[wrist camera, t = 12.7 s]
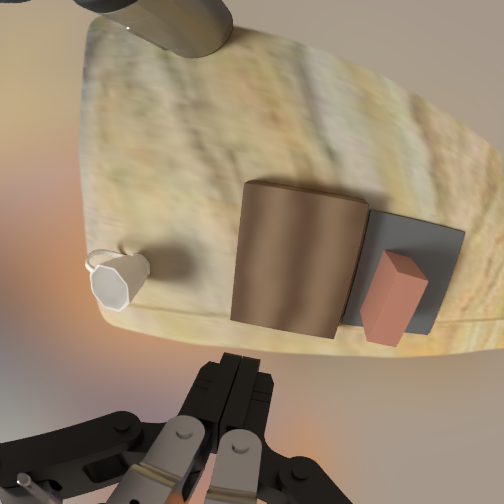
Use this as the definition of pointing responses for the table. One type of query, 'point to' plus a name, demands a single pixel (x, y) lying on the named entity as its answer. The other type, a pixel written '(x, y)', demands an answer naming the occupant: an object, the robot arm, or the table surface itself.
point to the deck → (295, 257)
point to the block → (392, 298)
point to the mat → (415, 247)
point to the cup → (117, 278)
